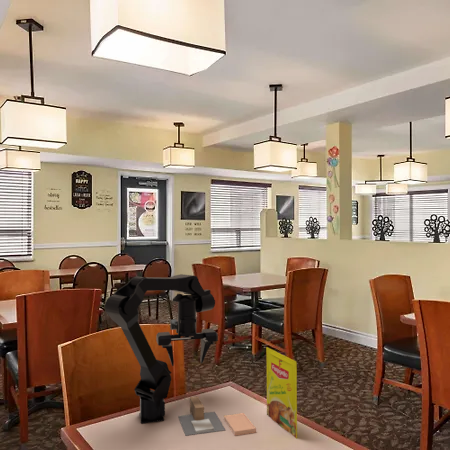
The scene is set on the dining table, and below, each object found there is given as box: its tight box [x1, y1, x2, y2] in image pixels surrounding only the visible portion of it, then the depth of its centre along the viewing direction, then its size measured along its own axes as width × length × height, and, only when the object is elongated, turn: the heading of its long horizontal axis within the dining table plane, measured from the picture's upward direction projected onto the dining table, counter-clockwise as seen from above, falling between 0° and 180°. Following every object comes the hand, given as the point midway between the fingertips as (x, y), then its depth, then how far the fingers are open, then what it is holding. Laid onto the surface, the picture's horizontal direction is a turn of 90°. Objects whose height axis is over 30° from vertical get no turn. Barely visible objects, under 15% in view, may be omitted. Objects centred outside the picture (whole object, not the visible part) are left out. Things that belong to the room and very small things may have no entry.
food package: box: [265, 346, 298, 439], centre depth 118 cm, size 15×1×20 cm, turn 25°
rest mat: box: [178, 411, 227, 437], centre depth 119 cm, size 11×12×1 cm
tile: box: [223, 412, 257, 437], centre depth 118 cm, size 6×2×10 cm
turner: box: [189, 396, 214, 433], centre depth 121 cm, size 14×5×4 cm, turn 16°
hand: (187, 364), depth 134 cm, fingers open, 9 cm apart
